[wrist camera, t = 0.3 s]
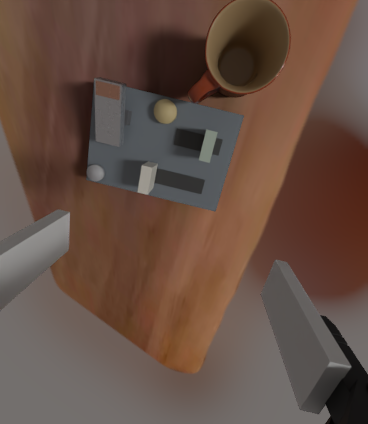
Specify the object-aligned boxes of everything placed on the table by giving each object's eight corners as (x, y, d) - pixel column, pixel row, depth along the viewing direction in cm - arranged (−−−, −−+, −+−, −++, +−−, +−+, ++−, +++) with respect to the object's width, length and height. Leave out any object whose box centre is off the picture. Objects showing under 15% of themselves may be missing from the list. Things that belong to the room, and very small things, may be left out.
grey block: (206, 129, 33) (206, 129, 29) (216, 131, 33) (217, 132, 29) (199, 156, 35) (198, 160, 31) (209, 159, 35) (209, 162, 31)
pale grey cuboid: (148, 161, 35) (141, 165, 32) (157, 163, 35) (152, 167, 32) (144, 185, 37) (137, 192, 33) (153, 188, 37) (147, 194, 33)
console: (102, 82, 35) (89, 76, 31) (240, 116, 35) (245, 114, 31) (94, 176, 41) (81, 181, 36) (214, 205, 41) (215, 214, 36)
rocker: (99, 77, 30) (93, 78, 28) (126, 83, 30) (121, 84, 28) (100, 138, 34) (95, 141, 33) (123, 143, 34) (118, 147, 33)
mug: (244, 19, 31) (262, -30, 22) (277, 77, 33) (306, 56, 24) (175, 80, 34) (164, 60, 25) (208, 129, 36) (210, 129, 27)
